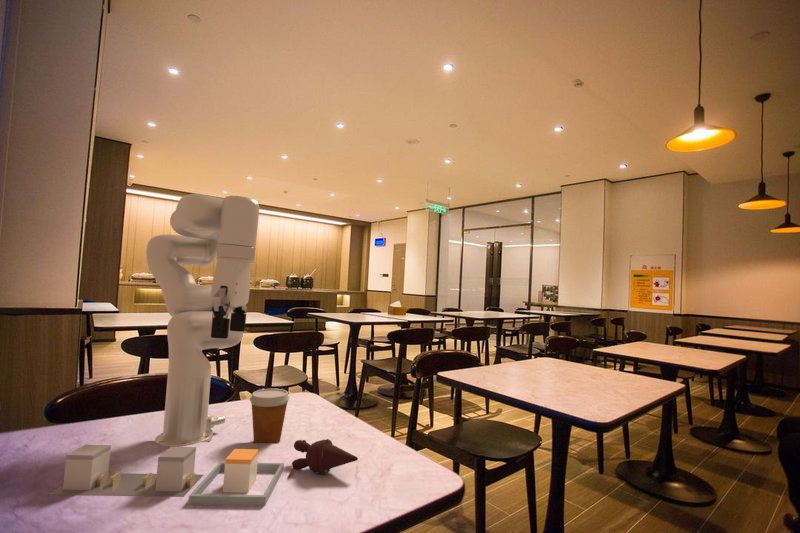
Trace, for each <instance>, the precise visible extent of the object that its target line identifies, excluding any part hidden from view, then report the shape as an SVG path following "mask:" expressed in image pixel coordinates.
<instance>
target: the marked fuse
mask: <svg viewBox="0 0 800 533" xmlns="http://www.w3.org/2000/svg"><path fill="white" fill-rule="evenodd" d="M258 461H259V449H258V448H257V449H255V448H252V449H251V448H248V449H247V448H234V449H233V450H232V451H231V452H230V454H229V455H228V456H226V458H225V460H224V462H225V471H223V474H224V475H223V485H222V493H249V492H250V491H251V489H252V488H253V486H254V485H255V483H256V481H257V476H258V475H257V474H258V471H257V464H258V463H259V462H258Z"/></svg>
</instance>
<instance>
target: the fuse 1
mask: <svg viewBox="0 0 800 533" xmlns="http://www.w3.org/2000/svg"><path fill="white" fill-rule="evenodd" d="M111 447H112V446H111V444H85V445H83V446H80V447H79V448H76V449H75V450H73V451H72V452H70V453H68V454H66V455H65V466H64V467H65V468H64V474H63V484H62V485H63V489H66V490H90V489H92V488H93V487H95V486H96V485H97V479H98V477H99V476H100V475H102V474H103V473H105V472H109V468H110V466H109V465H110V458H111Z"/></svg>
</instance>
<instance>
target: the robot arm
mask: <svg viewBox="0 0 800 533" xmlns="http://www.w3.org/2000/svg"><path fill="white" fill-rule="evenodd" d="M259 215H260V204H259V202H258V201H257V200H256V199H254V198H251V197H246V196H241V195H228V196H227V195H226V196H225V197H224V198H222V197H221V198H220V197H218V196H217V197H216V196H212V195H211V196H210V195H206V194H200V193H189V194H186V195H183V196H182V197H180V199H179V201H178V202H177V204H176V208H175V210H174V211H173V212H172V213H171V215H170V218H169V224H170V226H171V229H172V230H173V231H174V232H175V233H177V234H179V235H177V234H160V235H159V234H158V235H155V236H153V237H152V238H150V240H149V241H148V243H147V246H146V252H145V254H146V255H145V256H146V262H147V266H148V268H149V271H150V273H151V275H152V277H154V279H155V281H156V282H157V284H158V285H159V288H160V289H161V293H162V296H163V301H164V303H165V304H164V305H165V307H166V310H167V312H168V314H169V315H170V317H171V318H169V321H168V323H167V327H166V332H167V334H166V336H167V343H168V344H167V345H168V366H167V369H168V370H167V379H166V391H165V392H166V393H165V402H164V403H165V406H164V415H163V416H164V417H163V427H162V428H163V429H162V432H161V433H159V434H158V435H156V436H155V439H154V443H156V444H157V445H159V446H163V447H187V446H191V445H195V444H199V443H208V442H209V441H211V440H212V439H213V436H214V430H212V429H213V428H214V427H215V426H219V425H222V424H223V425H224V423H225V422H226V417H225V416H224V415H220V416H217V417H215V416H214V415H211V416H209V405H210V404H209V403H210V391H211V390H210V389H211V380H212V379H211V376H212V365H211V363H210V361H209V359H208V358H207V357H206V355H205V354H204V353H203V351H204V350H211V349H221V348H231V347H234V346H237V345H238V344H240V342H241V341H242V340H243V337H244V332H245V331H246V321H247V313H248V308H247V307H248V304H249V300H250V291H251V277H252V276H251V274H252V273H251V272H252V263H253V264H254V263H255V260H256V259H255V258H256V250H257V249H256V248H257V240H258V239H257V236H258V227H259ZM215 260H216V265H215V268H214V273H213V277H212V285H201V284H197V283H196V280H195V277H194V276H193V274H192V273H191V272H190V271H189V270H188V269H186V268H185V267H184V266H196V267H206V266H210V265H212V264H213V263H214V261H215Z"/></svg>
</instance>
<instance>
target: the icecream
mask: <svg viewBox="0 0 800 533" xmlns="http://www.w3.org/2000/svg"><path fill="white" fill-rule="evenodd" d="M293 448H294V450H295V451H297V452H300V453H305V457H303V458H302V457H300V458H297V459H294V460H293V461H292V462H291V465H292V468H293V469H294V470H302V469H306V468H307V467H308V468H309V470H310V471H312V472H313V473H316V474H320V475H324V474H326V473H327V474H328V472H329V471H330V470H331V469H333V468H337V467H340V466H343V465H346V464H349V463H353V462H356V461H358V459H359V457H358V456H355V455H353V454H352V453H349V452H348V451H347V450H344V449H342V448H340V447H338V446H336V445H334V444H333V442H332V440H330V439H329V438H326V439H322V440H317V441H314V442H312V443H311V444H310V443H308V442H307V440H305V439H303V440H302V439H297V440H296V441H295V442H294V443H293ZM329 469H330V470H329ZM328 470H329V471H328ZM327 471H328V472H327ZM327 474H326V475H327Z"/></svg>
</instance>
